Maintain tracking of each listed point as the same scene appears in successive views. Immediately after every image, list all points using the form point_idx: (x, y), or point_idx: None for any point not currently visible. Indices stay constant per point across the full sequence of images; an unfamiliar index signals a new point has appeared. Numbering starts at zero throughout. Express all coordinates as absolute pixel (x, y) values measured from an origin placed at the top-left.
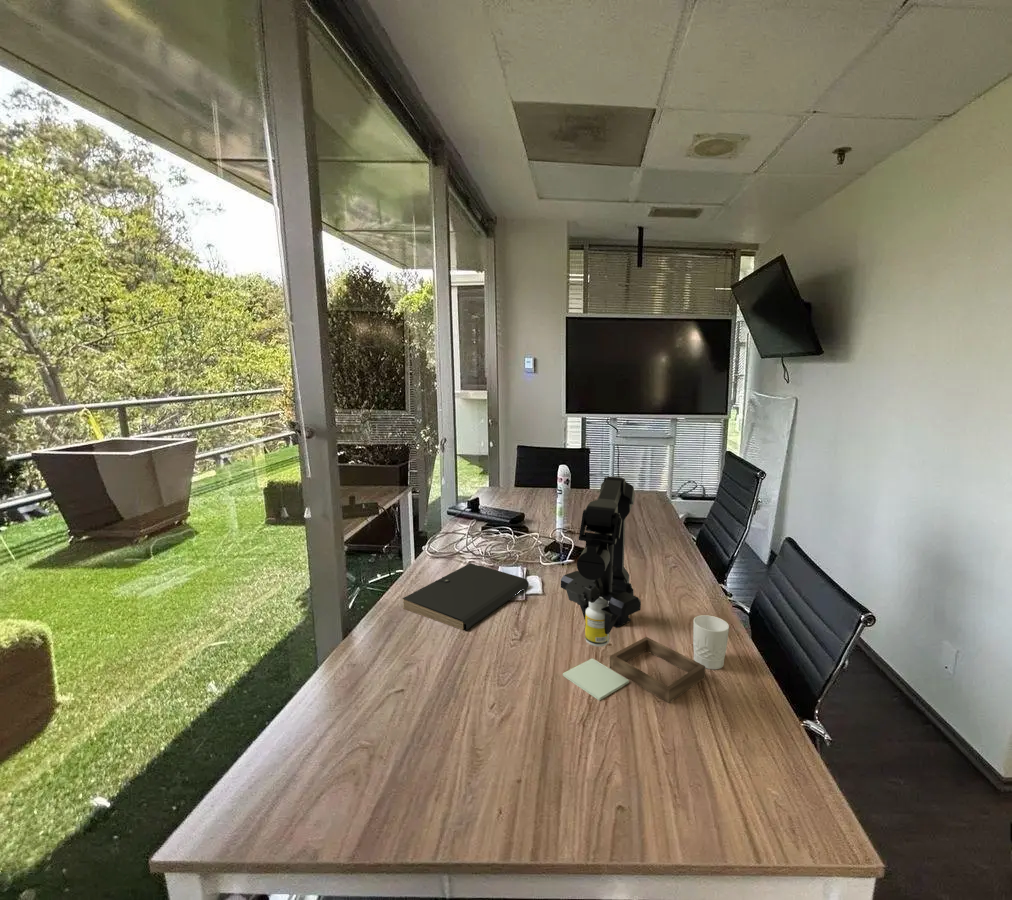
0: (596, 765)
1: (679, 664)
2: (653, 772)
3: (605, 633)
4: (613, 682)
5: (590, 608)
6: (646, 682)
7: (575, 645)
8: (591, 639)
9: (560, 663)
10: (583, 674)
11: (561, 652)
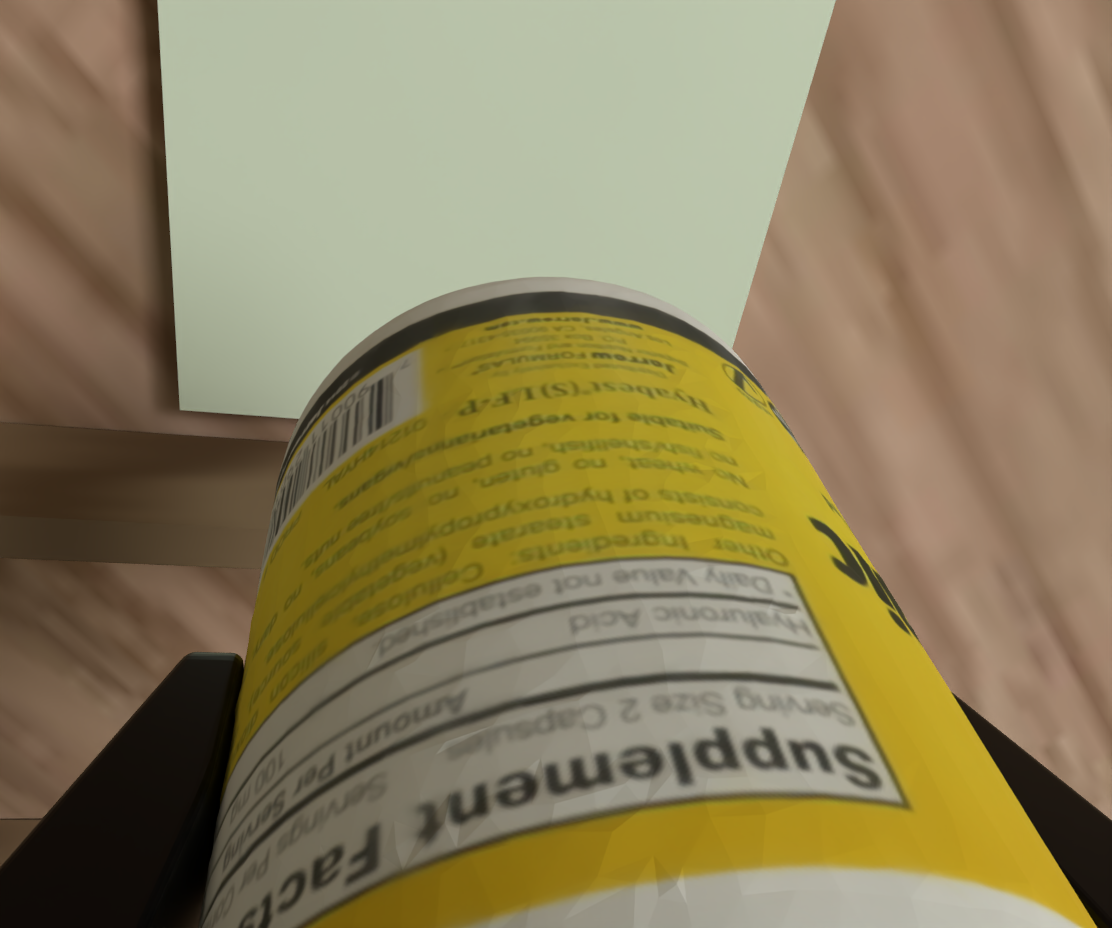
0: None
1: None
2: None
3: (221, 654)
4: (264, 258)
5: None
6: None
7: (951, 508)
8: (524, 333)
9: (968, 149)
10: (621, 132)
11: (1036, 325)
